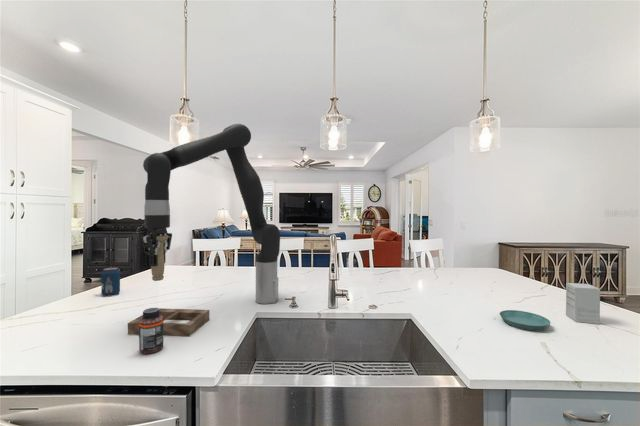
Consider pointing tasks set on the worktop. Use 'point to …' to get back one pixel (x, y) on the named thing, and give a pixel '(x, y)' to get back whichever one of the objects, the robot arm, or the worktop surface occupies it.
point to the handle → (159, 260)
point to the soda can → (110, 281)
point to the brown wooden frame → (176, 321)
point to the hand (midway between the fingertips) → (157, 264)
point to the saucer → (524, 320)
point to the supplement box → (583, 303)
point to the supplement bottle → (151, 331)
